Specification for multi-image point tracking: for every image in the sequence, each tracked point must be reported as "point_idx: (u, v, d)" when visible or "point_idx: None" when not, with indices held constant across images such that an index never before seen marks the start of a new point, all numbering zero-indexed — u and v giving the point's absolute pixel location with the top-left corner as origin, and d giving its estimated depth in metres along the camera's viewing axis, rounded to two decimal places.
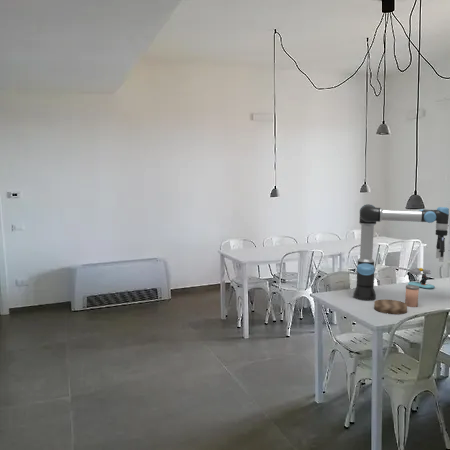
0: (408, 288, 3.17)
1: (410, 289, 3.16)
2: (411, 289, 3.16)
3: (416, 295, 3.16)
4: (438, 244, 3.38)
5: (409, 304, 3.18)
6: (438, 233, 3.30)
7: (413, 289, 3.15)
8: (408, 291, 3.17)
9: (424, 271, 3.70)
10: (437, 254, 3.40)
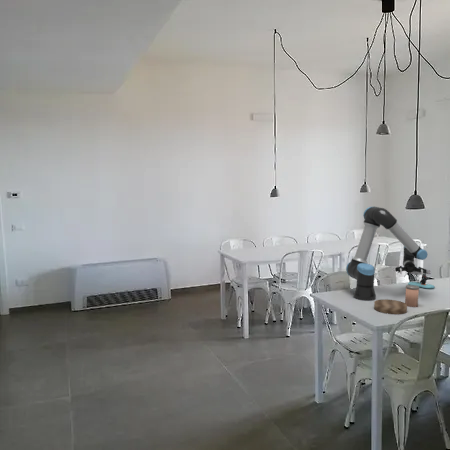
0: (408, 288, 3.17)
1: (410, 289, 3.16)
2: (411, 289, 3.16)
3: (416, 295, 3.16)
4: (403, 268, 3.38)
5: (409, 304, 3.18)
6: None
7: (413, 289, 3.15)
8: (408, 291, 3.17)
9: None
10: None
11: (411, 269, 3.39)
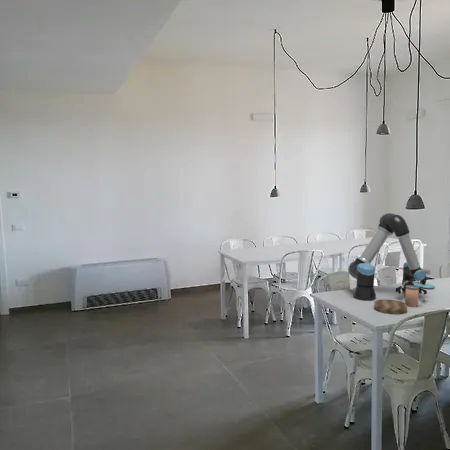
0: (408, 288, 3.17)
1: (410, 289, 3.16)
2: (411, 289, 3.16)
3: (416, 295, 3.16)
4: (404, 288, 3.36)
5: (409, 304, 3.18)
6: None
7: (413, 289, 3.15)
8: (408, 291, 3.17)
9: (424, 271, 3.70)
10: (401, 291, 3.29)
11: None
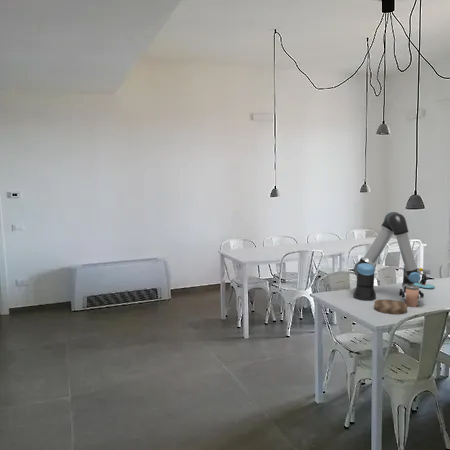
0: (408, 288, 3.17)
1: (410, 289, 3.16)
2: (411, 289, 3.16)
3: (416, 295, 3.16)
4: None
5: (409, 304, 3.18)
6: None
7: (413, 289, 3.15)
8: (408, 291, 3.17)
9: (424, 271, 3.70)
10: (405, 295, 3.19)
11: None
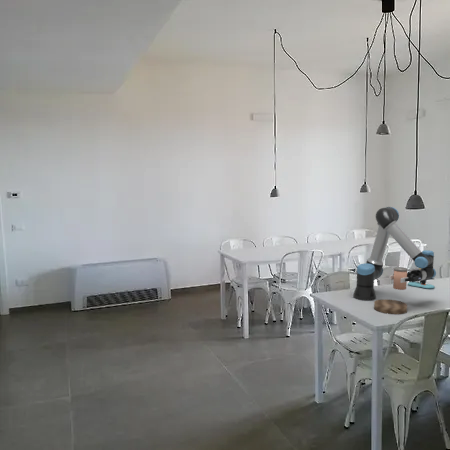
0: (394, 269, 3.10)
1: (394, 270, 3.09)
2: (395, 270, 3.08)
3: (400, 277, 3.06)
4: None
5: (393, 286, 3.10)
6: (419, 273, 3.16)
7: (397, 271, 3.07)
8: (394, 272, 3.10)
9: None
10: (393, 276, 3.12)
11: (409, 277, 3.14)
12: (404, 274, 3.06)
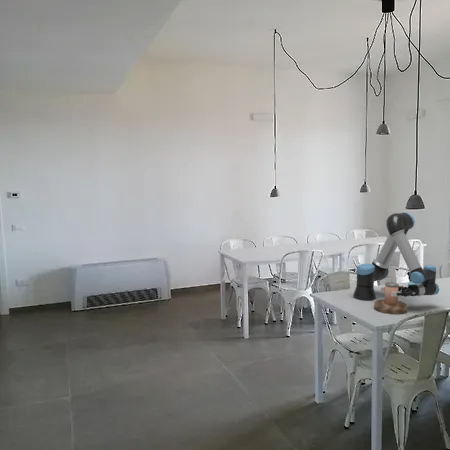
0: (385, 284, 3.10)
1: (385, 285, 3.09)
2: (385, 285, 3.08)
3: (389, 293, 3.06)
4: None
5: (384, 301, 3.10)
6: (415, 287, 3.10)
7: (386, 286, 3.07)
8: (385, 287, 3.10)
9: None
10: (384, 288, 3.14)
11: (404, 291, 3.10)
12: (393, 290, 3.05)
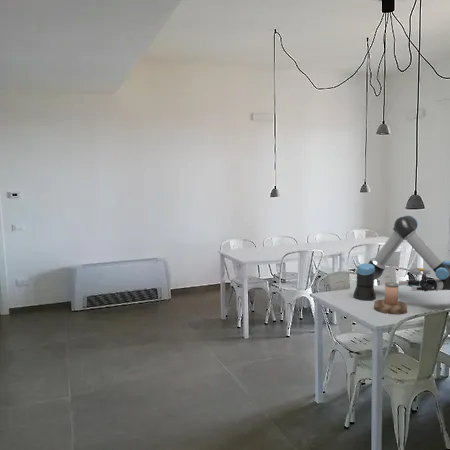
0: (385, 284, 3.10)
1: (385, 285, 3.09)
2: (385, 285, 3.08)
3: (389, 293, 3.06)
4: (414, 282, 3.17)
5: (384, 301, 3.10)
6: (433, 282, 3.12)
7: (386, 286, 3.07)
8: (385, 287, 3.10)
9: (424, 271, 3.70)
10: (403, 282, 3.17)
11: (422, 285, 3.13)
12: (393, 290, 3.05)
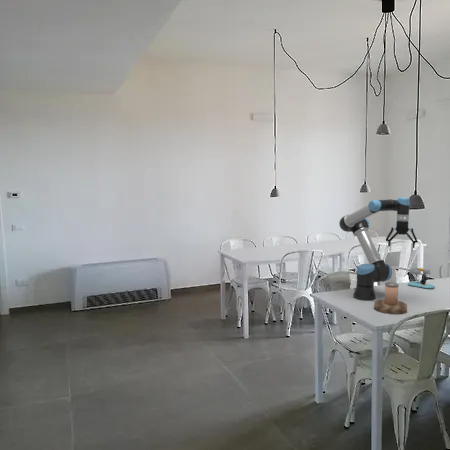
0: (385, 284, 3.10)
1: (385, 285, 3.09)
2: (385, 285, 3.08)
3: (389, 293, 3.06)
4: None
5: (384, 301, 3.10)
6: None
7: (386, 286, 3.07)
8: (385, 287, 3.10)
9: (424, 271, 3.70)
10: (411, 248, 3.22)
11: (400, 234, 3.22)
12: (393, 290, 3.05)
